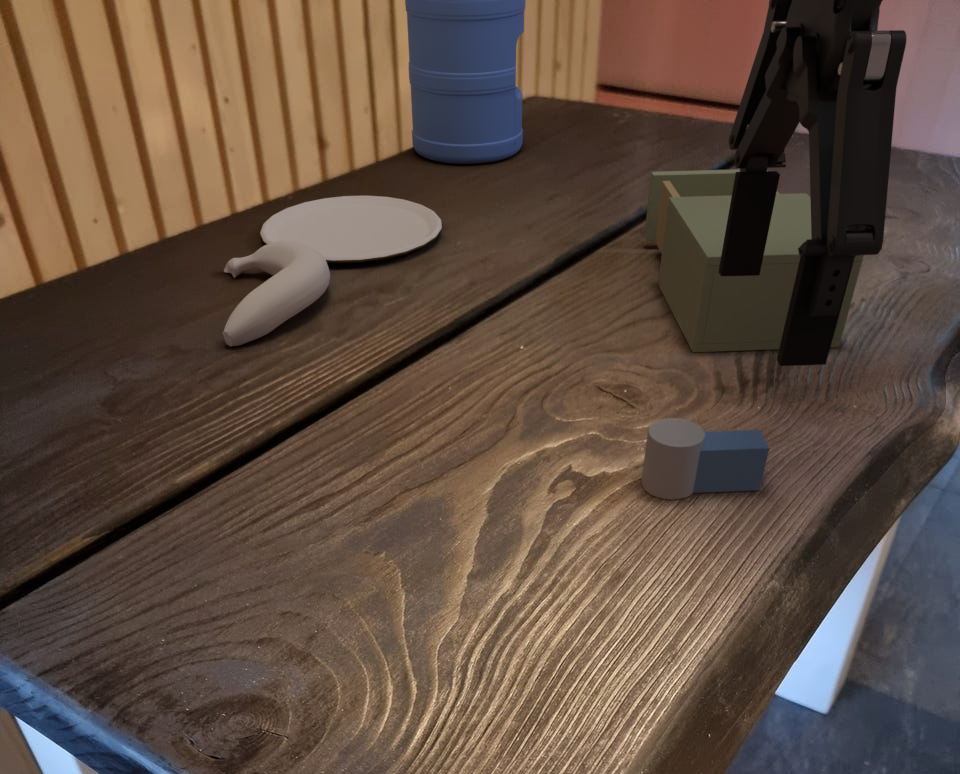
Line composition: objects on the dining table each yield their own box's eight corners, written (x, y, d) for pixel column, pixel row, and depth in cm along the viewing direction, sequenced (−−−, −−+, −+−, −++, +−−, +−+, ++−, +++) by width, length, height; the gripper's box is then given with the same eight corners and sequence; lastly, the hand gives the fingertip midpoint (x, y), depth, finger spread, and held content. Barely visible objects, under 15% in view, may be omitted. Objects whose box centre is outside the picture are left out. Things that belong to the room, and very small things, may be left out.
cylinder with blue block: (747, 466, 70) (759, 414, 67) (762, 496, 67) (775, 443, 64) (636, 471, 70) (643, 418, 67) (646, 501, 67) (654, 447, 64)
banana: (274, 355, 84) (137, 335, 88) (360, 286, 98) (239, 271, 101) (266, 302, 81) (124, 283, 84) (357, 238, 95) (231, 224, 98)
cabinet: (657, 285, 95) (668, 197, 90) (787, 280, 96) (806, 193, 90) (692, 352, 84) (707, 256, 78) (839, 347, 84) (865, 251, 79)
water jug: (463, 173, 123) (458, -93, 104) (390, 149, 132) (373, -101, 113) (545, 150, 131) (554, -102, 112) (471, 128, 140) (468, -109, 121)
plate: (313, 198, 117) (311, 187, 116) (467, 215, 111) (467, 204, 110) (227, 256, 102) (224, 245, 101) (400, 279, 97) (399, 267, 96)
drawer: (636, 223, 106) (643, 159, 102) (743, 220, 107) (754, 156, 102) (671, 288, 92) (681, 218, 88) (793, 284, 93) (809, 214, 88)
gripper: (718, -127, 54) (668, 245, 68) (882, -85, 36) (766, 412, 50) (844, -128, 54) (768, 243, 69) (1070, -86, 36) (901, 407, 50)
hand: (767, 315), depth 59 cm, fingers open, 13 cm apart
